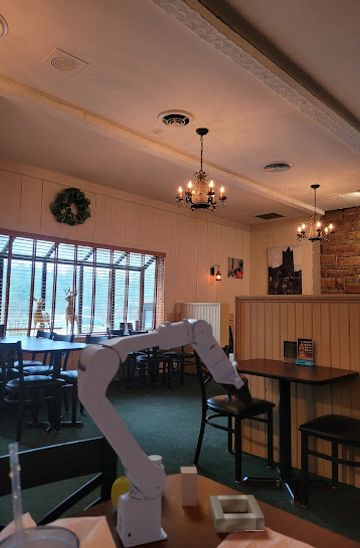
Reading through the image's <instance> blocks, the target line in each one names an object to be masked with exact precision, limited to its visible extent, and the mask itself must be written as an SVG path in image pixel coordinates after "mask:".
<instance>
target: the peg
mask: <svg viewBox="0 0 360 548" xmlns="http://www.w3.org/2000/svg"><path fill="white" fill-rule="evenodd" d="M179 487H180V488H179V489H180V495H179V497H180V499H179V500H180V506H181V507H185V506H186V507H187V506H189V507H190V506H192V507H193V506H194V507H195V506H198V472H197V467H196V466H180V485H179Z"/></svg>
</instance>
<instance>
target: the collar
mask: <svg viewBox="0 0 360 548" xmlns="http://www.w3.org/2000/svg"><path fill="white" fill-rule="evenodd" d="M209 510H210V515H211V519H212V523H213V526H214V530H215V533H219V534H220V533H222V534H223V533H236V532H235V531H245V530H266V524H265V518H266V517H265V516H264V513H263V511H262V510H261V507H260V506H259V504H258V502H257V500H256V498H255V495H254V494H242V495H241V494H240V495H239V494H238V495H237V494H236V495H233V494H232V495H227V494H226V495H209ZM239 511H240V512H241V513H240V512H239ZM245 511H246V512H247V513H246V512H245ZM233 512H234V513H233ZM236 512H237V513H236ZM242 512H243V513H242ZM244 512H245V513H244Z"/></svg>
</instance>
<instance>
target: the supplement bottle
mask: <svg viewBox="0 0 360 548" xmlns="http://www.w3.org/2000/svg"><path fill="white" fill-rule="evenodd" d="M147 456H148V455H147ZM148 457H149V459H150V460H151V461H152V462H153V463H154V464H155V465H156V466H157V467H159V468H161V469H162V470H163V471H164V472H165V466H164V465H163V464H162V462H163V457H162V456H161V455H157V454H153V455H149V456H148ZM164 495H165V489H164V490H163V492H162V493H161V498H162V497H163V496H164Z"/></svg>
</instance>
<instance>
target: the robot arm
mask: <svg viewBox="0 0 360 548" xmlns="http://www.w3.org/2000/svg"><path fill="white" fill-rule="evenodd" d="M213 329H214V328H213V326H212V324H211V323H209V322H207V321H206V320H204V319H201V318H200V319H199V318H183V319H182V321H178V322H171V321H164V322H163V324H160V325H158V326H157V328H156V329H155V331H154V332H148V333H147V332H146V333H139V334H133V335H127V336H121V337H120V336H119V337H114V338H110V339H109V338H108V339H105V340H101V341H98V342H97V344H95V343H90V344H88V345H85V346H84V347H83V348H82V349H81V350H80V353H79V354H78V357H77V360H76V362H75V369H76V373H77V374H76V375H77V397H78V400H79V401H80V403H81V404H82V406H83V408H85V410H86V412H87V413H88V414H89V415H90V417H91V418H92V420H93V421H94V423H95V424H96V426H97V427H98V428H99V430H100V432H101V433H102V434H103V436H104V437H105V439H106V440H107V442H108V443H109V445H110V446H111V447H112V449H113V450H114V451H115V453H116V455H117V456H118V457H119V459H120V461H121V464H122V466H123V467H124V474H125V478H127V479H128V480H129V481H130V487H129V492H128V493H126V494H124V495H121V496H119V498H118V508H117V513H116V515H117V518H116V519H117V520H116V521H117V523H116V532H117V534H118V536H119V538H120V540H121V543H122V545H123V546H124V548H130V547H136V546H139V545H143V544H150V543H154V542H158V541H162V540H166V539H167V538H168V535H167V533H166V532H165V531H164V529H163V528H162V526H161V525H162V497H161V493H162V492H163V490H164V491H165V488H166V487H167V481H168V478H167V474H166V472H165V470H164V471H163V470H162V469H161V468H159V467H157V466H156V465H155V464H154V463H153V462H152V461H151V460H150V459H149V457H148V455H147V454H146V452H145V451H143V449H142V448H141V446H140V445H139V443H138V441H136V439H135V437H134V436H133V434H132V433H131V431H130V430H129V429H128V427H127V425H126V424H125V422H124V421H123V420H122V418H121V417H120V415H119V414H118V412H117V411H116V409H115V408H114V406H113V405H112V403H111V402H110V400H109V399H108V398H107V396H106V393H107V390H108V386H109V384H110V383H111V381H112V379H113V378H114V377H115V376H116V373H117V372H118V370H119V368H120V367H119V366H120V363H124V362H125V361H126V359H127V357H128V355H129V354H131V353H133V352H138V351H142V350H145V349H150V348H153V347H159V348H161V350H169V349H174V348H178V347H183V346H188V345H190V344H191V346H192V348H193V349H194V351H195V352H196V354H197V355H198V356H199V358H200V360H201V361H202V362H203V363H204V365H205V367H206V368H207V370H208V371H209V372H210V374H211V376H212V377H211V381H213V382H214V383H216V384H218V385H220V386H221V387H222V388H223V389H224V390H225V391H226V392H227V393H228V394H229V395H230V396H232V397H236V398H237V400H239V402H240V403H241V404H243V405H244V406H245V407H249V406H251V404H252V403H253V398H252V393H251V392H250V389H249V379H248V378H247V377H246V376H245V375H243V377H242V378H241V377H240V376H239V373H238V371H237V368H238V365H239V364H238V362H237V361H232V362H231V360H230V359H229V357H228V356H227V355H226V353H225V351H224V349H223V348H222V347H221V345H220V344H219V342H218V341H217V339H216V338H215V336H214V334H213ZM99 344H100V345H99Z"/></svg>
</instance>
